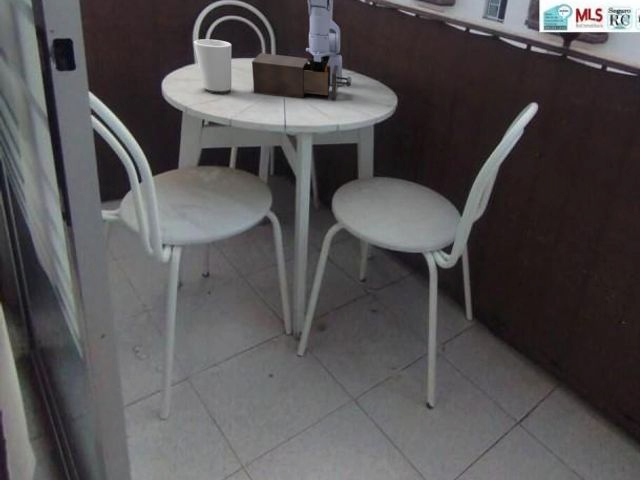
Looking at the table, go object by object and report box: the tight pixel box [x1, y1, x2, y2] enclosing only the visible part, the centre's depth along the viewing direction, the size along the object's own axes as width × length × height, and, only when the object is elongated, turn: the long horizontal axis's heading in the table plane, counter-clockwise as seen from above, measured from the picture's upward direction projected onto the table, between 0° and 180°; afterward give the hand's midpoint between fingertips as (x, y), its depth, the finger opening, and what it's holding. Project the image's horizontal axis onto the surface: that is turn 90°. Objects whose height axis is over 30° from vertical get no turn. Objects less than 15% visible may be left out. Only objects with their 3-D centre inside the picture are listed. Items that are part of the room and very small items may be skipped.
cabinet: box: [251, 52, 309, 99], centre depth 156 cm, size 15×14×9 cm
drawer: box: [303, 62, 352, 99], centre depth 158 cm, size 18×12×7 cm
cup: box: [193, 38, 232, 95], centre depth 146 cm, size 10×10×13 cm
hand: (319, 82), depth 158 cm, fingers closed on bottle, 4 cm apart
